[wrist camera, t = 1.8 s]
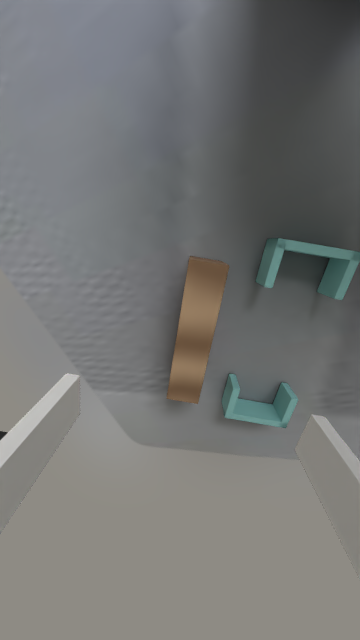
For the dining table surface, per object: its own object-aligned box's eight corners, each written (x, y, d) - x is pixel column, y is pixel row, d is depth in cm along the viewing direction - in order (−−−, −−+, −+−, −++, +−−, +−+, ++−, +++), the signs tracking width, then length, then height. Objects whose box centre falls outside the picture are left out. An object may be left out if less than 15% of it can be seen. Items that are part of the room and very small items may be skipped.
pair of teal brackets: (267, 238, 21) (278, 238, 19) (341, 251, 21) (363, 252, 19) (221, 400, 29) (224, 417, 26) (276, 410, 29) (285, 428, 26)
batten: (189, 256, 23) (189, 259, 18) (222, 261, 23) (229, 265, 18) (171, 372, 28) (166, 398, 23) (197, 376, 28) (197, 403, 23)
